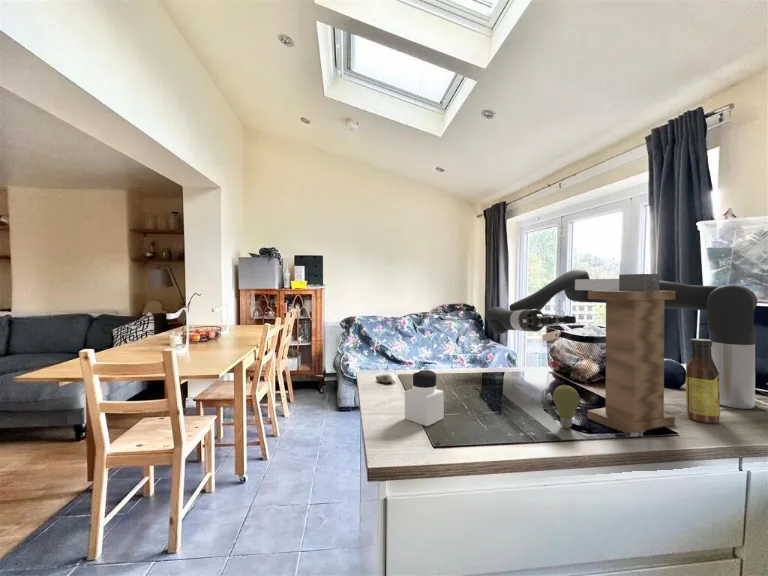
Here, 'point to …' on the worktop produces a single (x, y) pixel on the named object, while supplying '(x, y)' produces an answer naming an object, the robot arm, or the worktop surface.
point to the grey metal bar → (621, 283)
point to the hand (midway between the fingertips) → (563, 320)
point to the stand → (634, 360)
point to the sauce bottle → (702, 384)
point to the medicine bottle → (424, 399)
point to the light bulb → (566, 403)
